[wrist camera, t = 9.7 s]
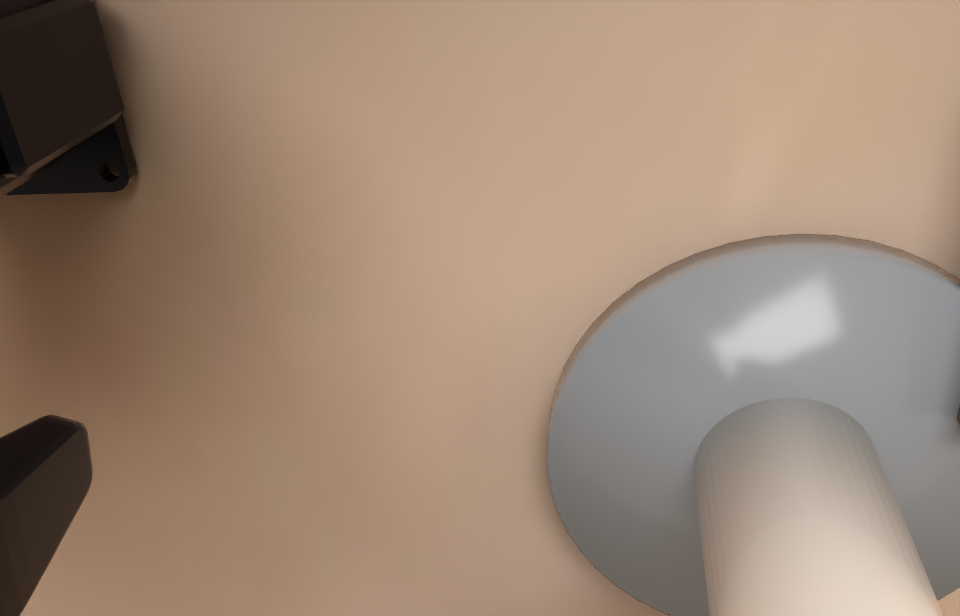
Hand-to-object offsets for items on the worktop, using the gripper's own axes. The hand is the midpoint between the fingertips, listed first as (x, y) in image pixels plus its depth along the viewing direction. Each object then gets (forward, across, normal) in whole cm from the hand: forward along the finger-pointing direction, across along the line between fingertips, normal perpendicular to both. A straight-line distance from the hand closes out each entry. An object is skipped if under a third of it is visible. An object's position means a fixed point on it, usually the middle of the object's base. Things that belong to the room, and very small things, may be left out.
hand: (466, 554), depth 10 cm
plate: (+12, -7, +7) cm, 16 cm away
